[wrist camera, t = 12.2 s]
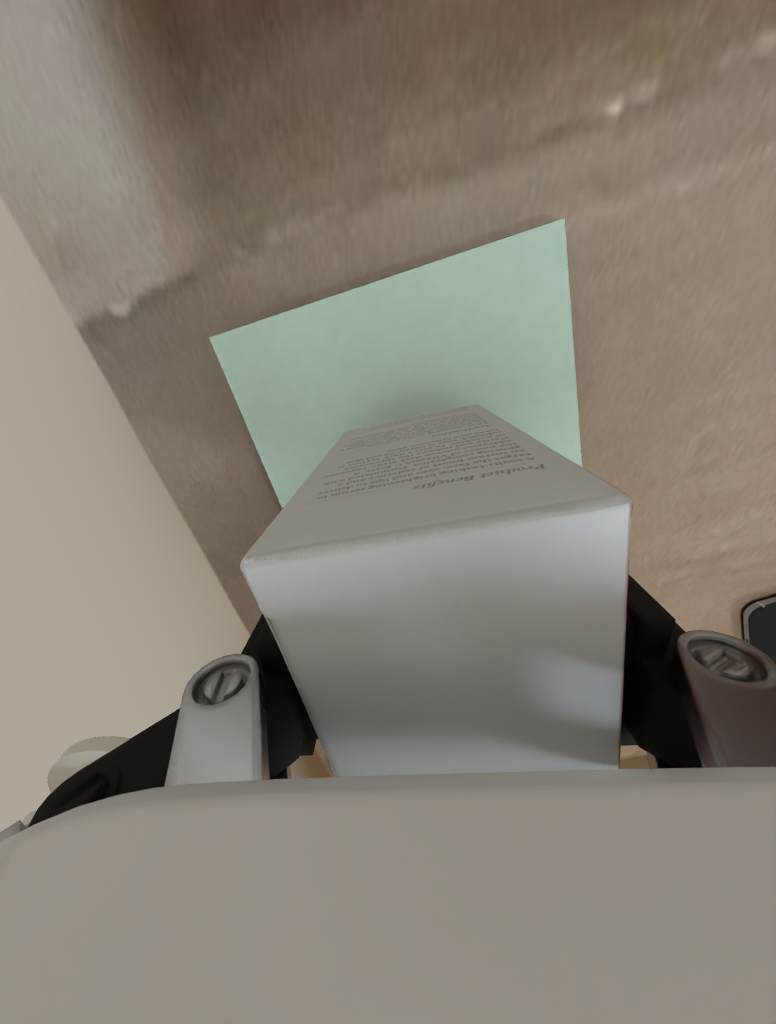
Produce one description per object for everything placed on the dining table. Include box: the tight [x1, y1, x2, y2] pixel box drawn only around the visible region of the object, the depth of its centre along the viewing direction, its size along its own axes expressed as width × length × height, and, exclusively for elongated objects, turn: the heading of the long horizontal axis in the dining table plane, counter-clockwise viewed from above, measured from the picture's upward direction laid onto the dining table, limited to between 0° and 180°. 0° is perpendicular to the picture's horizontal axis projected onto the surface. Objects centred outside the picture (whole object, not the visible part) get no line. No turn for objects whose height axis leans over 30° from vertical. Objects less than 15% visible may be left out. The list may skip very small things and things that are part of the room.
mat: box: [209, 218, 582, 509], centre depth 23 cm, size 20×20×1 cm
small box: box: [240, 404, 633, 777], centre depth 11 cm, size 8×6×10 cm
